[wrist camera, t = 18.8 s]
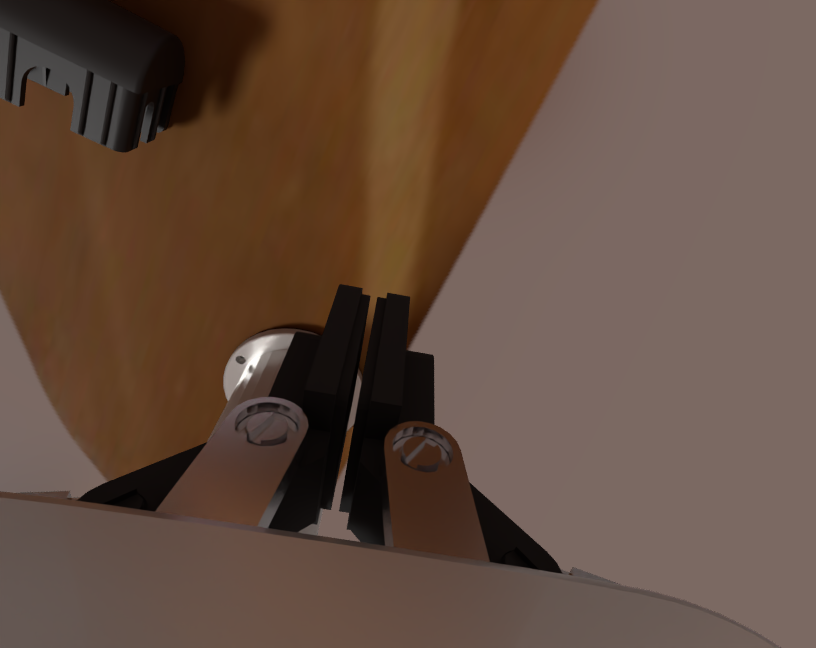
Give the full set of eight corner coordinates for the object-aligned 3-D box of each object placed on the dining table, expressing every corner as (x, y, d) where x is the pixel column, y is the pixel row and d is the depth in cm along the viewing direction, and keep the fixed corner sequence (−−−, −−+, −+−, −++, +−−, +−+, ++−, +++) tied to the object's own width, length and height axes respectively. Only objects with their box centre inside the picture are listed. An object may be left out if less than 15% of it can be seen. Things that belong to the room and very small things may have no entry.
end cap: (199, 33, 33) (150, 38, 28) (173, 137, 37) (125, 160, 31) (36, -52, 31) (-53, -65, 26) (25, 66, 35) (-56, 77, 29)
